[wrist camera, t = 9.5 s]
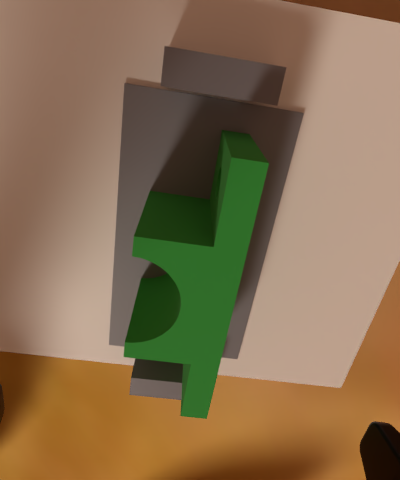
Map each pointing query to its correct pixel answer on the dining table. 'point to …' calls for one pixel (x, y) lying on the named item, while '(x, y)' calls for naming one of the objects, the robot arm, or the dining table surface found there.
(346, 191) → the door panel
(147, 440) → the dining table surface
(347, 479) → the dining table surface
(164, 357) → the green angled block
